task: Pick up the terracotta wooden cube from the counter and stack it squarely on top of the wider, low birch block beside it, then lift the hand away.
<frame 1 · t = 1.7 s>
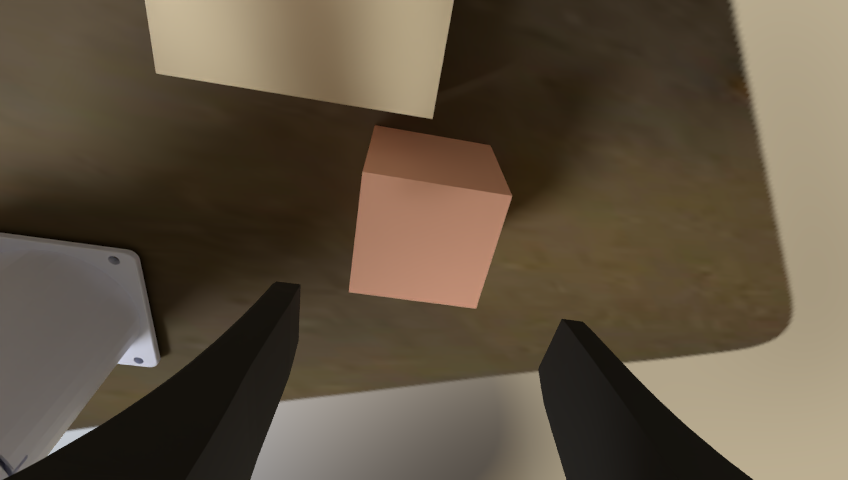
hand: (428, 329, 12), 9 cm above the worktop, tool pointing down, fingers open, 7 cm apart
terracotta cube: (422, 187, 19), on the worktop
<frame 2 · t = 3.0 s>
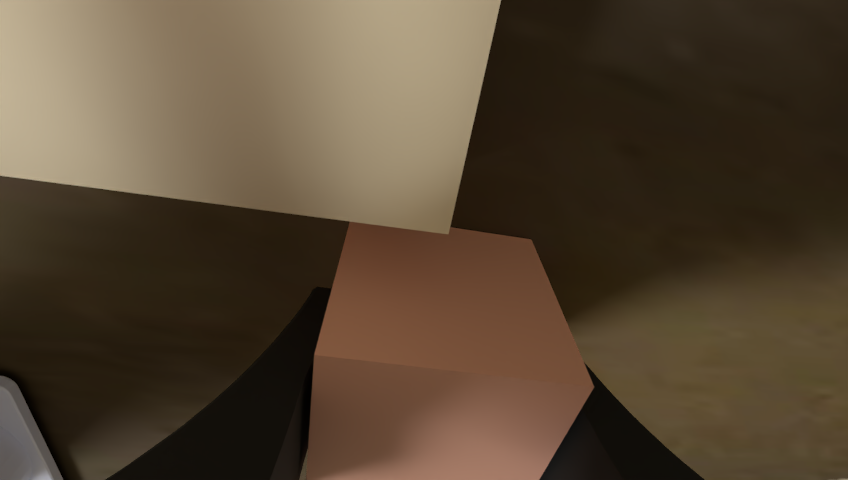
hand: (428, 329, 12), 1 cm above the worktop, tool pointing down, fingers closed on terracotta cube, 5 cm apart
terracotta cube: (427, 296, 13), on the worktop, touching gripper
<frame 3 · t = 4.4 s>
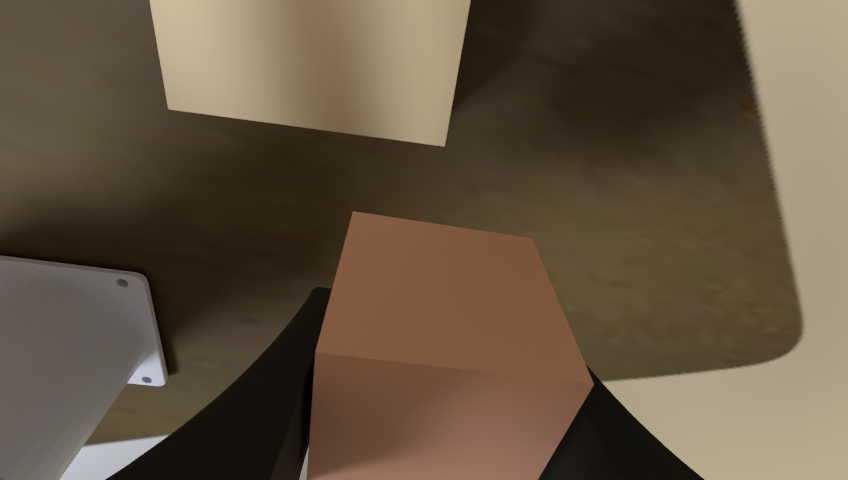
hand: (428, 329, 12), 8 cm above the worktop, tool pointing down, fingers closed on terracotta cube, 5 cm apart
terracotta cube: (427, 294, 13), point 7 cm above the worktop, touching gripper
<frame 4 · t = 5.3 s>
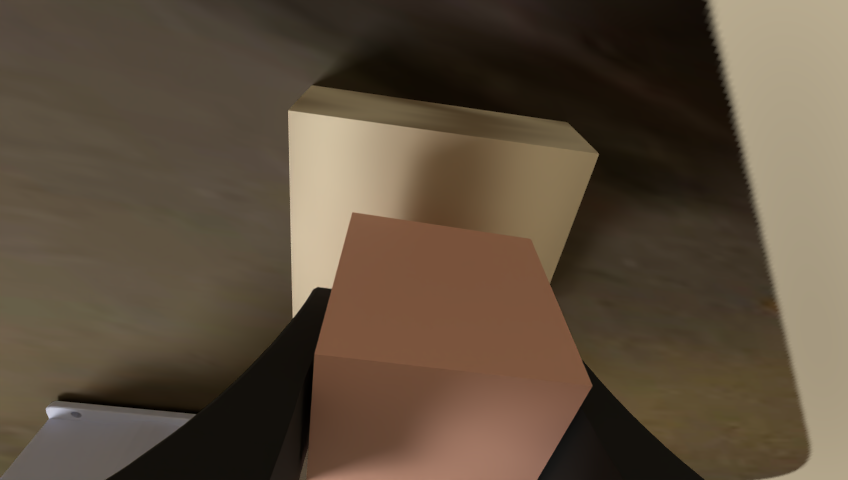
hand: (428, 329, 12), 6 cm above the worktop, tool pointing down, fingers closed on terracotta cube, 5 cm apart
birch base block: (424, 212, 17), on the worktop
terracotta cube: (427, 295, 13), point 5 cm above the worktop, touching gripper
when the fingers open (6 cm above the worktop, at t = 5.8 s): terracotta cube drops 2 cm, resting on birch base block.
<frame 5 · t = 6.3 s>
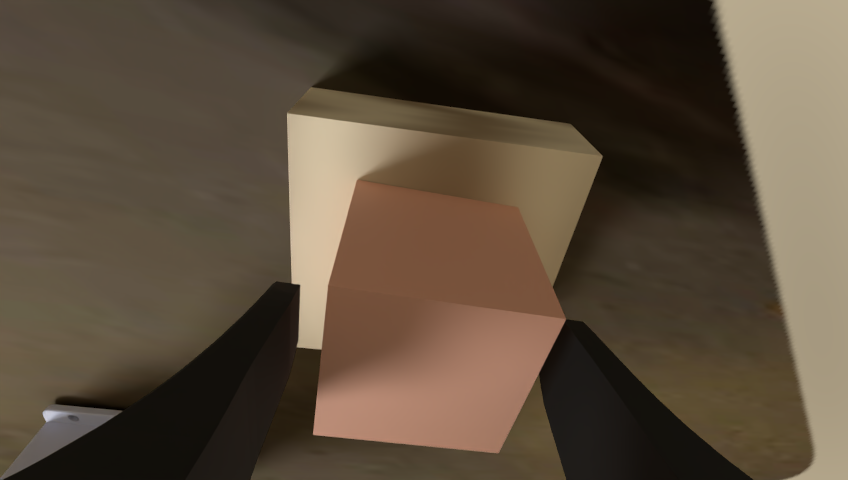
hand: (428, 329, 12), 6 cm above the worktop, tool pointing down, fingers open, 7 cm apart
birch base block: (425, 214, 17), on the worktop, touching terracotta cube
terracotta cube: (423, 260, 14), point 3 cm above the worktop, touching birch base block
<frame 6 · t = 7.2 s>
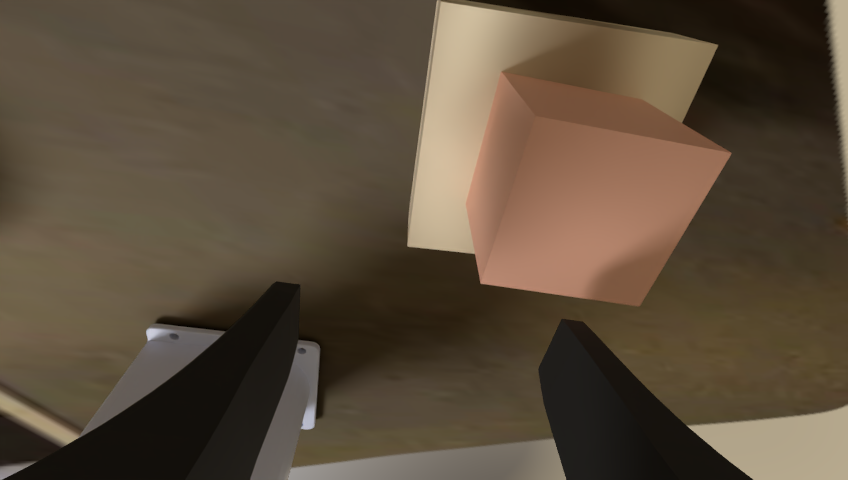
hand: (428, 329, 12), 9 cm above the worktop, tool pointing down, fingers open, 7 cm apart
birch base block: (523, 128, 19), on the worktop, touching terracotta cube
terracotta cube: (547, 155, 16), point 3 cm above the worktop, touching birch base block
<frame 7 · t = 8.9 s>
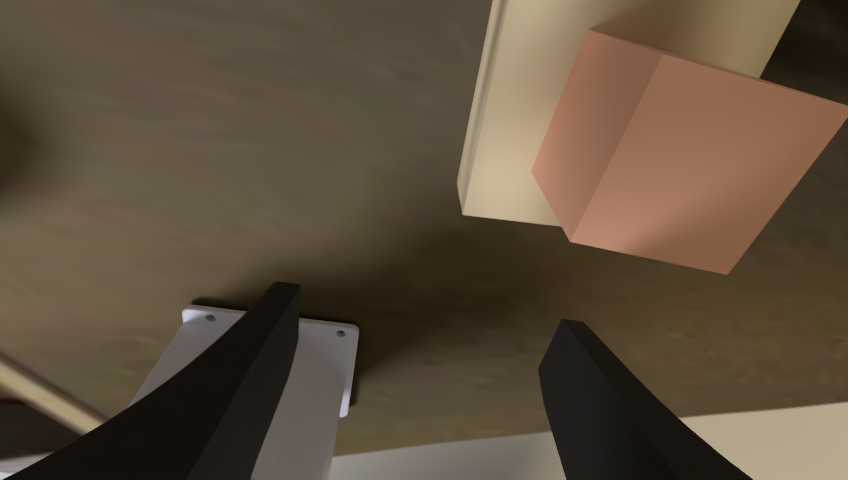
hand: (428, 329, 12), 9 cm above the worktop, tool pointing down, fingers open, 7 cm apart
birch base block: (579, 95, 18), on the worktop
terracotta cube: (622, 123, 15), point 3 cm above the worktop
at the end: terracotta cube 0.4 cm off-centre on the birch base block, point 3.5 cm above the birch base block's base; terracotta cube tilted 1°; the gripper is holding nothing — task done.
